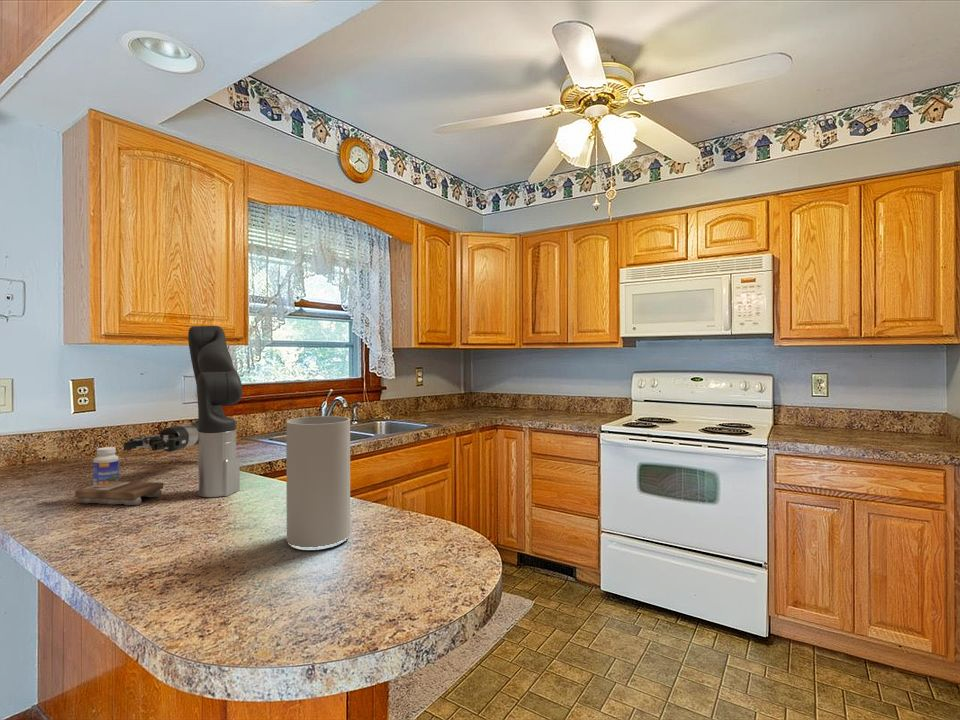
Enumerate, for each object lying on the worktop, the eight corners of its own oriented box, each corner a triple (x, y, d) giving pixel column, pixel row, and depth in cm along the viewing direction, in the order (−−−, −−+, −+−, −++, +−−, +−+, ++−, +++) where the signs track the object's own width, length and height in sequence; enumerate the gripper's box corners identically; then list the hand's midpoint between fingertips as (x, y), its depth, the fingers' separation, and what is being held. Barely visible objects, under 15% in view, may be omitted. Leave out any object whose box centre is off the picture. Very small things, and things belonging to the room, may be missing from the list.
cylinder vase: (286, 533, 108) (286, 417, 107) (346, 526, 112) (346, 415, 112) (286, 556, 96) (286, 425, 96) (353, 547, 100) (353, 422, 100)
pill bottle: (97, 489, 128) (97, 451, 128) (90, 485, 131) (90, 448, 131) (122, 484, 132) (122, 447, 132) (114, 481, 136) (114, 445, 135)
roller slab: (163, 495, 135) (162, 481, 135) (133, 507, 126) (133, 492, 125) (108, 493, 137) (108, 480, 137) (75, 504, 127) (75, 490, 127)
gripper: (157, 425, 159) (115, 433, 143) (199, 425, 158) (162, 434, 142) (157, 448, 159) (115, 459, 143) (200, 449, 158) (162, 460, 142)
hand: (139, 446), depth 142 cm, fingers open, 8 cm apart
